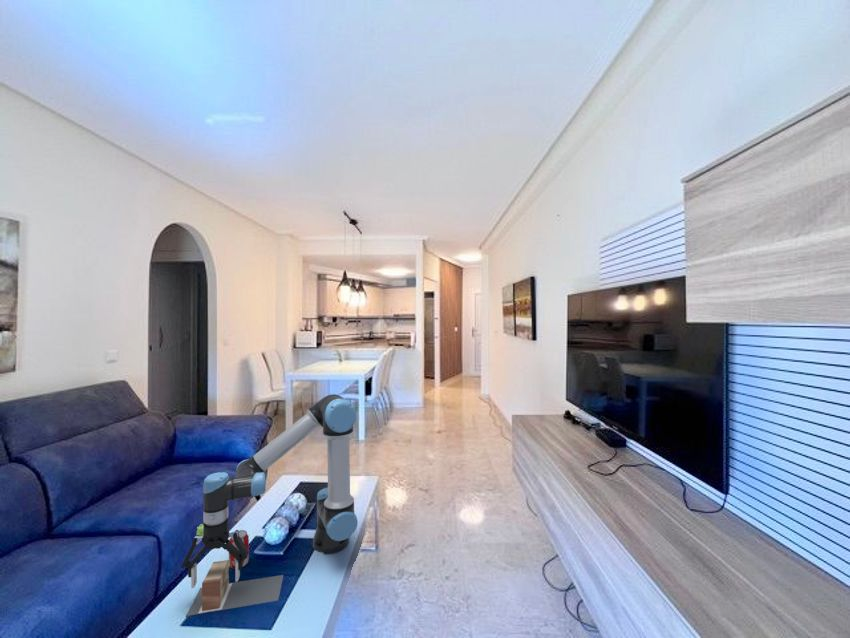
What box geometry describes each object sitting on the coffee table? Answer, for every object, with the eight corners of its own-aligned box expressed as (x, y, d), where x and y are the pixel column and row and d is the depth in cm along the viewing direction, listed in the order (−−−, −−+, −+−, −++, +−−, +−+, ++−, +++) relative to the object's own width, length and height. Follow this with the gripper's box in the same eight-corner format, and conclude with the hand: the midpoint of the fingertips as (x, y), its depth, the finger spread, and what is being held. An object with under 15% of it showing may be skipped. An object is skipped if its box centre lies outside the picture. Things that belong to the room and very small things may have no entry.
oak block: (213, 587, 132) (213, 562, 132) (228, 585, 133) (228, 559, 133) (202, 611, 121) (202, 583, 121) (219, 608, 122) (219, 580, 122)
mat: (283, 576, 138) (283, 574, 138) (278, 601, 125) (278, 600, 125) (200, 589, 131) (200, 587, 131) (185, 617, 119) (185, 615, 119)
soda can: (226, 572, 140) (226, 540, 140) (231, 560, 147) (231, 530, 147) (246, 569, 142) (246, 537, 142) (250, 557, 149) (250, 528, 149)
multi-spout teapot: (215, 534, 166) (215, 521, 166) (208, 541, 160) (208, 528, 160) (201, 534, 165) (201, 521, 165) (194, 541, 160) (193, 528, 160)
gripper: (170, 531, 120) (170, 596, 120) (252, 521, 126) (252, 583, 126) (179, 519, 128) (179, 580, 128) (257, 510, 133) (257, 569, 133)
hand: (216, 582), depth 127 cm, fingers open, 13 cm apart
